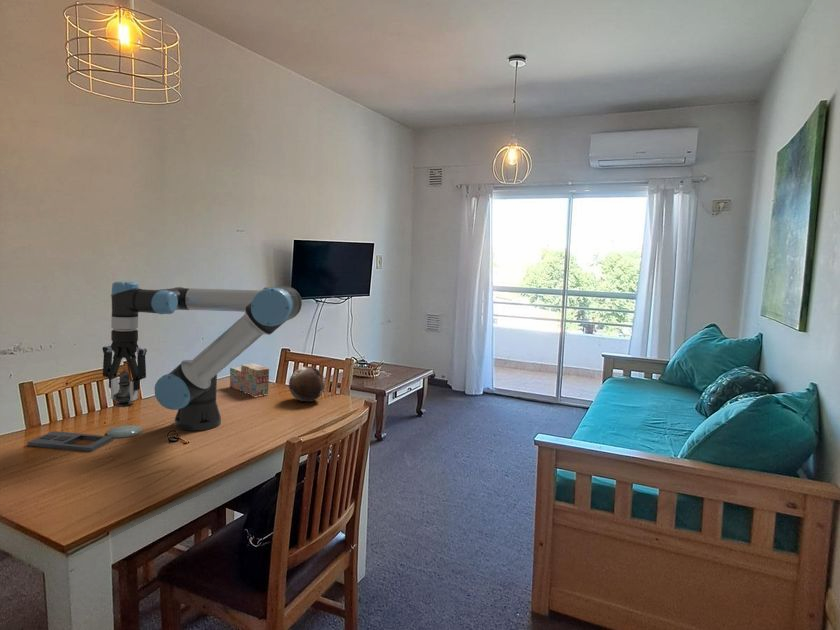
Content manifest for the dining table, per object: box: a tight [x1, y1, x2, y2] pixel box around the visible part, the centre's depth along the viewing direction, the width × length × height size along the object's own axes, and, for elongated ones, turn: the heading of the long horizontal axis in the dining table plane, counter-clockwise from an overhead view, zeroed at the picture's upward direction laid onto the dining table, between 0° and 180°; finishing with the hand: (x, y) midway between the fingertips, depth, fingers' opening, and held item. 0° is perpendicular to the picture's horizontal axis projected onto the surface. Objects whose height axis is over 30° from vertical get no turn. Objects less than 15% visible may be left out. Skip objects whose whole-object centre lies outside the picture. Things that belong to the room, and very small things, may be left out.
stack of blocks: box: [229, 362, 270, 397], centre depth 229 cm, size 21×6×12 cm, turn 50°
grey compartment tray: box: [27, 430, 114, 453], centre depth 158 cm, size 20×10×1 cm, turn 86°
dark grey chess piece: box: [114, 368, 134, 408], centre depth 168 cm, size 6×6×12 cm
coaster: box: [106, 424, 143, 439], centre depth 170 cm, size 10×10×1 cm
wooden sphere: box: [288, 366, 326, 402], centre depth 219 cm, size 15×15×15 cm
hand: (124, 398), depth 169 cm, fingers closed on dark grey chess piece, 6 cm apart
